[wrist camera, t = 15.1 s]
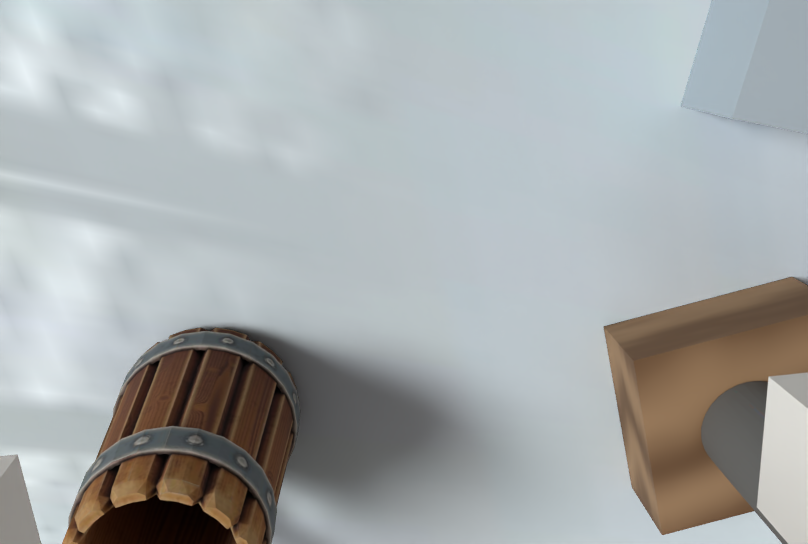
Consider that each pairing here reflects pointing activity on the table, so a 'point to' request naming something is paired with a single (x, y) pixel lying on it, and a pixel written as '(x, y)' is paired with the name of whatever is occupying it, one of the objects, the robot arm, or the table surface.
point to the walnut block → (697, 390)
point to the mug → (192, 447)
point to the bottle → (739, 439)
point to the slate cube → (753, 63)
